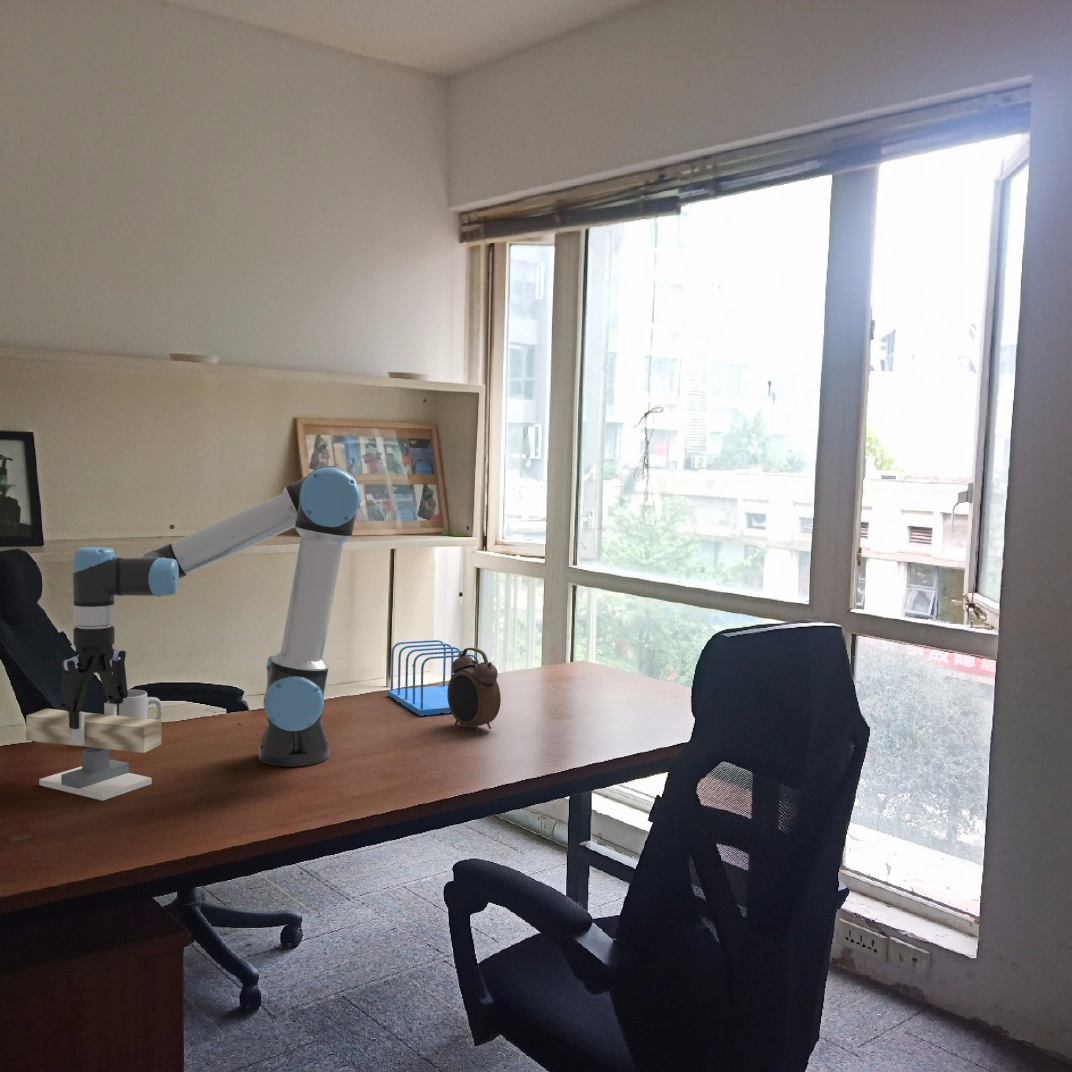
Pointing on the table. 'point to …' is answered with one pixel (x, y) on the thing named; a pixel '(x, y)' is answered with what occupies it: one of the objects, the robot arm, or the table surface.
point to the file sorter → (422, 697)
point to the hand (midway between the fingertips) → (94, 739)
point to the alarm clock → (473, 691)
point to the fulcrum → (97, 777)
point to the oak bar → (96, 730)
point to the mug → (138, 705)
